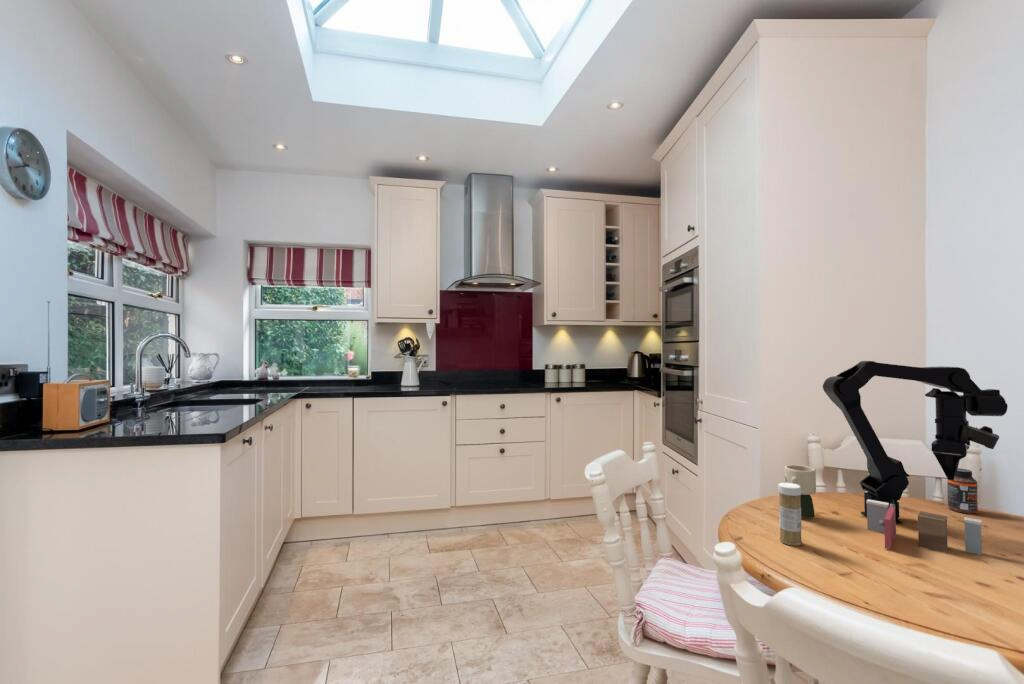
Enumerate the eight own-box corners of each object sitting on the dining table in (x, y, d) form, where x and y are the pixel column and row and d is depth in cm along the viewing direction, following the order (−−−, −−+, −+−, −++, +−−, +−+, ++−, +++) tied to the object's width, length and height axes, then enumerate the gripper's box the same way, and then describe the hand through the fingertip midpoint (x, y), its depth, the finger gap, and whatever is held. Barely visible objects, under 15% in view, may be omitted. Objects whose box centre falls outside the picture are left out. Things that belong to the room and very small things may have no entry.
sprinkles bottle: (789, 537, 110) (787, 481, 111) (807, 545, 106) (805, 486, 106) (774, 540, 109) (773, 483, 109) (792, 548, 104) (791, 488, 105)
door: (884, 532, 112) (884, 505, 112) (895, 534, 111) (894, 507, 111) (879, 546, 104) (878, 517, 104) (890, 549, 103) (890, 520, 103)
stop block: (945, 553, 101) (944, 521, 101) (918, 546, 105) (917, 515, 105) (947, 547, 104) (946, 515, 104) (921, 541, 108) (920, 510, 108)
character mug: (794, 508, 130) (793, 462, 131) (823, 515, 125) (822, 466, 125) (778, 517, 123) (777, 468, 124) (808, 525, 118) (807, 474, 118)
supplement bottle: (972, 516, 123) (971, 473, 123) (943, 509, 128) (942, 468, 129) (981, 512, 126) (980, 470, 126) (953, 505, 131) (952, 465, 131)
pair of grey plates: (866, 529, 115) (866, 500, 115) (868, 527, 116) (867, 498, 116) (982, 555, 100) (981, 522, 100) (982, 552, 101) (981, 519, 101)
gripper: (995, 422, 106) (997, 490, 106) (996, 414, 119) (998, 475, 119) (930, 418, 115) (932, 481, 114) (938, 410, 127) (939, 467, 127)
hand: (952, 476), depth 118 cm, fingers open, 9 cm apart
